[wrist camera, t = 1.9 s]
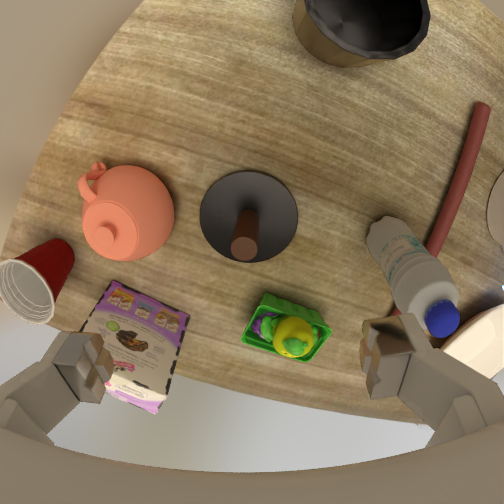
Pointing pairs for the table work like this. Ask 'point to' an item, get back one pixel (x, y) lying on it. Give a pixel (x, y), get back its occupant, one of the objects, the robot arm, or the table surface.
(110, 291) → the candy box
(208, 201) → the lid
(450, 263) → the table surface
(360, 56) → the faceted dark cup
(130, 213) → the sugar bowl
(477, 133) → the red brown collared rod
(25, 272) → the plastic cup
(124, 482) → the robot arm
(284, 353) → the fruit basket
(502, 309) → the bowl
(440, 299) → the bottle
